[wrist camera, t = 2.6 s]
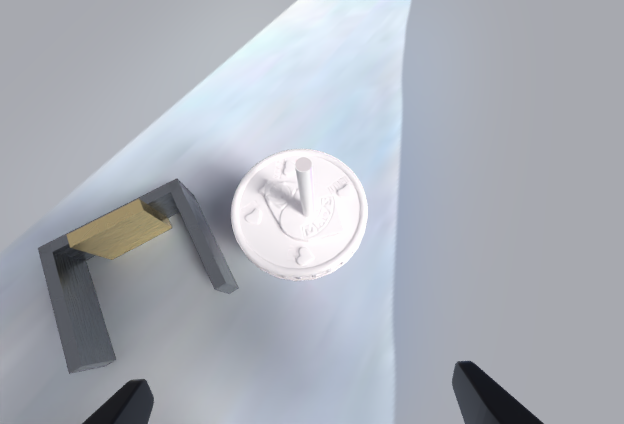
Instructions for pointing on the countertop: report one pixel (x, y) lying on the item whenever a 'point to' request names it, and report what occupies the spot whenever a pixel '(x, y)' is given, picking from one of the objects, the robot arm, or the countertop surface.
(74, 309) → the bracket
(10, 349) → the countertop surface
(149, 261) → the countertop surface
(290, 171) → the smoothie
